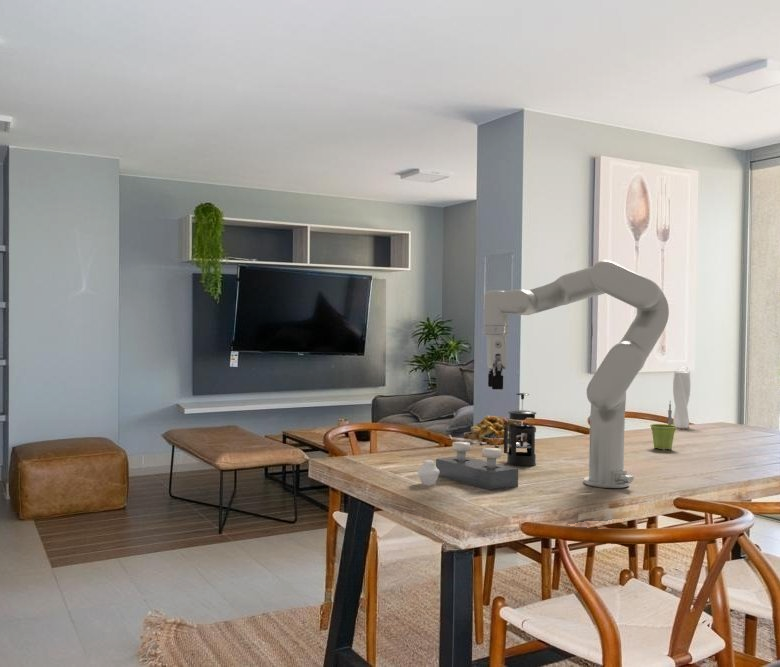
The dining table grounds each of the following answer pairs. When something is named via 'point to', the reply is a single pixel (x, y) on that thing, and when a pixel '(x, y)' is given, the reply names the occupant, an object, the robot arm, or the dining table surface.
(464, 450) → the knob
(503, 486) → the mount
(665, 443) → the plant pot
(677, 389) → the skyscraper
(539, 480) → the dining table surface
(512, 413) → the french press
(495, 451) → the knob
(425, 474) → the white ribbed round lump
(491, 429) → the food tray
